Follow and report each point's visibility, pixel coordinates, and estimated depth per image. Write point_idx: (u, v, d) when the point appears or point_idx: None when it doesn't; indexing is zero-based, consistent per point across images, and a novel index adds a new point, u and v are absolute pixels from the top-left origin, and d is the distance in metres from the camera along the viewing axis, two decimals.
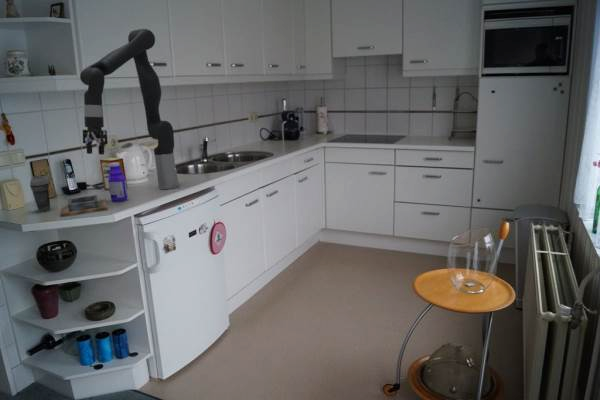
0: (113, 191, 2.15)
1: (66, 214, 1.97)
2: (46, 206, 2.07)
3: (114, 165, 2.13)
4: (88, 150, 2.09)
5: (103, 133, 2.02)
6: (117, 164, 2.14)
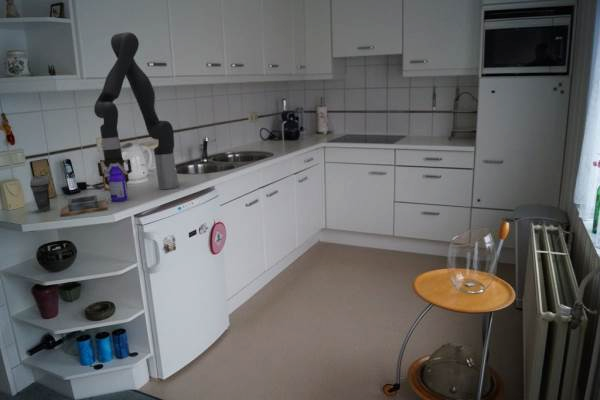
0: (113, 191, 2.15)
1: (66, 214, 1.97)
2: (46, 206, 2.07)
3: (114, 165, 2.13)
4: (108, 182, 2.15)
5: (130, 162, 2.17)
6: None
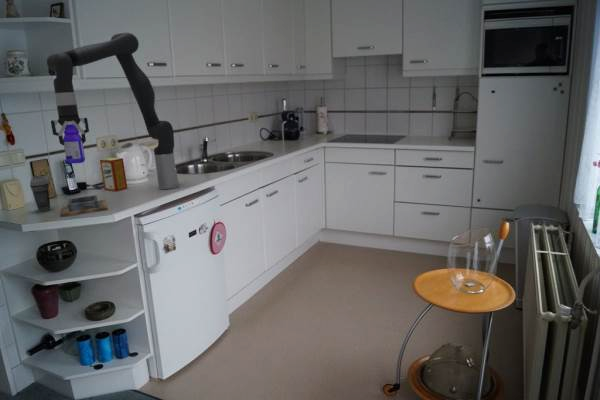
0: (68, 152, 1.98)
1: (66, 214, 1.97)
2: (46, 206, 2.07)
3: (69, 123, 1.96)
4: None
5: (87, 121, 2.00)
6: None
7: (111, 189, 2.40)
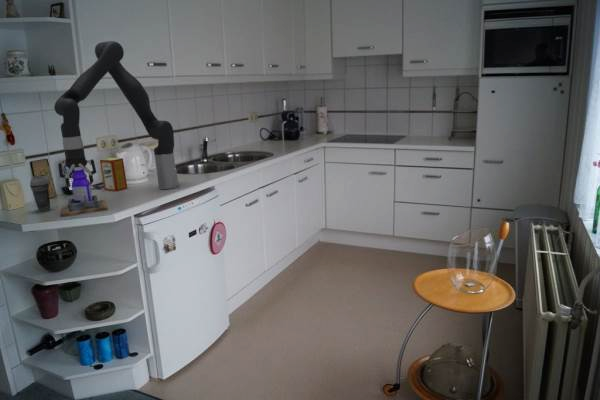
0: (76, 197, 2.03)
1: (66, 214, 1.97)
2: (46, 206, 2.07)
3: (77, 169, 2.01)
4: (69, 183, 2.02)
5: None
6: (81, 168, 2.02)
7: (111, 189, 2.40)
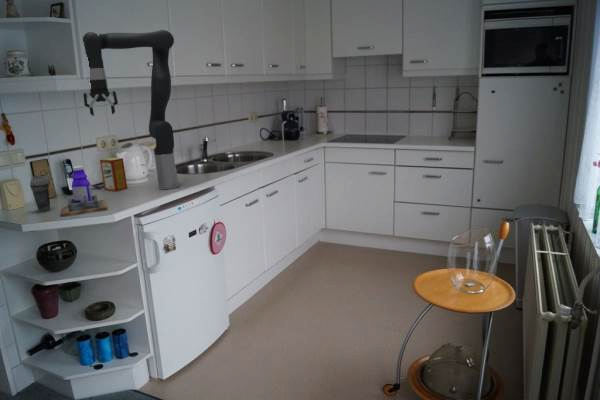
0: (76, 197, 2.03)
1: (66, 214, 1.97)
2: (46, 206, 2.07)
3: (77, 169, 2.01)
4: None
5: (115, 94, 2.22)
6: (81, 168, 2.02)
7: (111, 189, 2.40)
